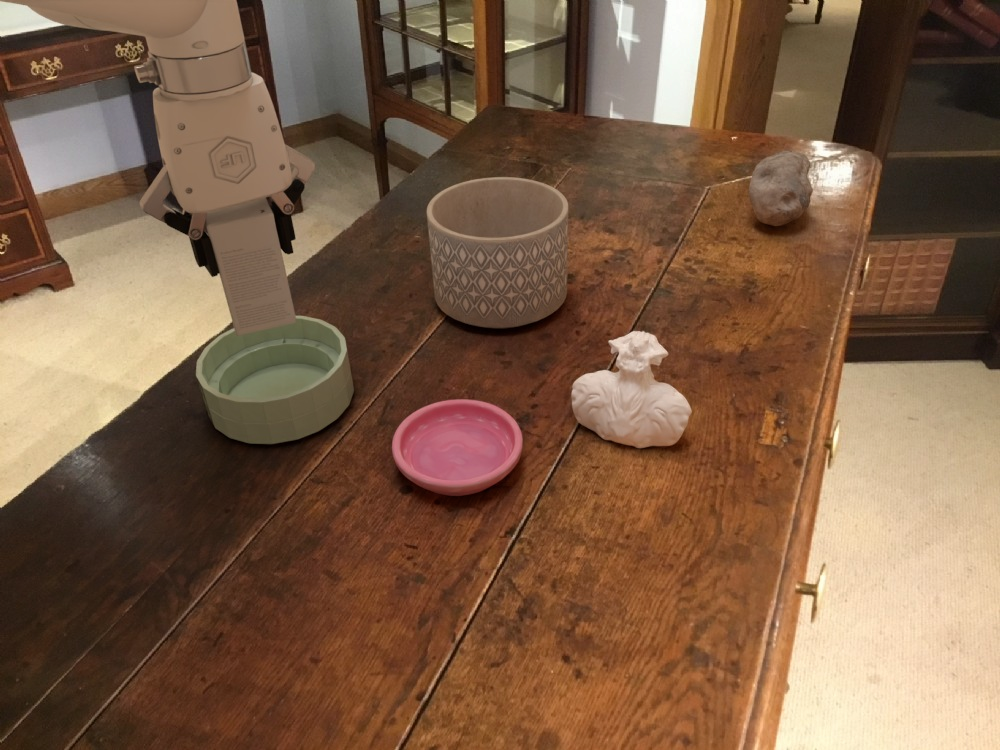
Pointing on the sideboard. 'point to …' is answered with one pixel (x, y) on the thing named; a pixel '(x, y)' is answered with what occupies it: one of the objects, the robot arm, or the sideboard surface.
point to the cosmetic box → (251, 266)
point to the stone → (780, 188)
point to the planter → (499, 251)
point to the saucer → (457, 446)
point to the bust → (631, 397)
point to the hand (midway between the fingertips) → (248, 257)
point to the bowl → (276, 381)
